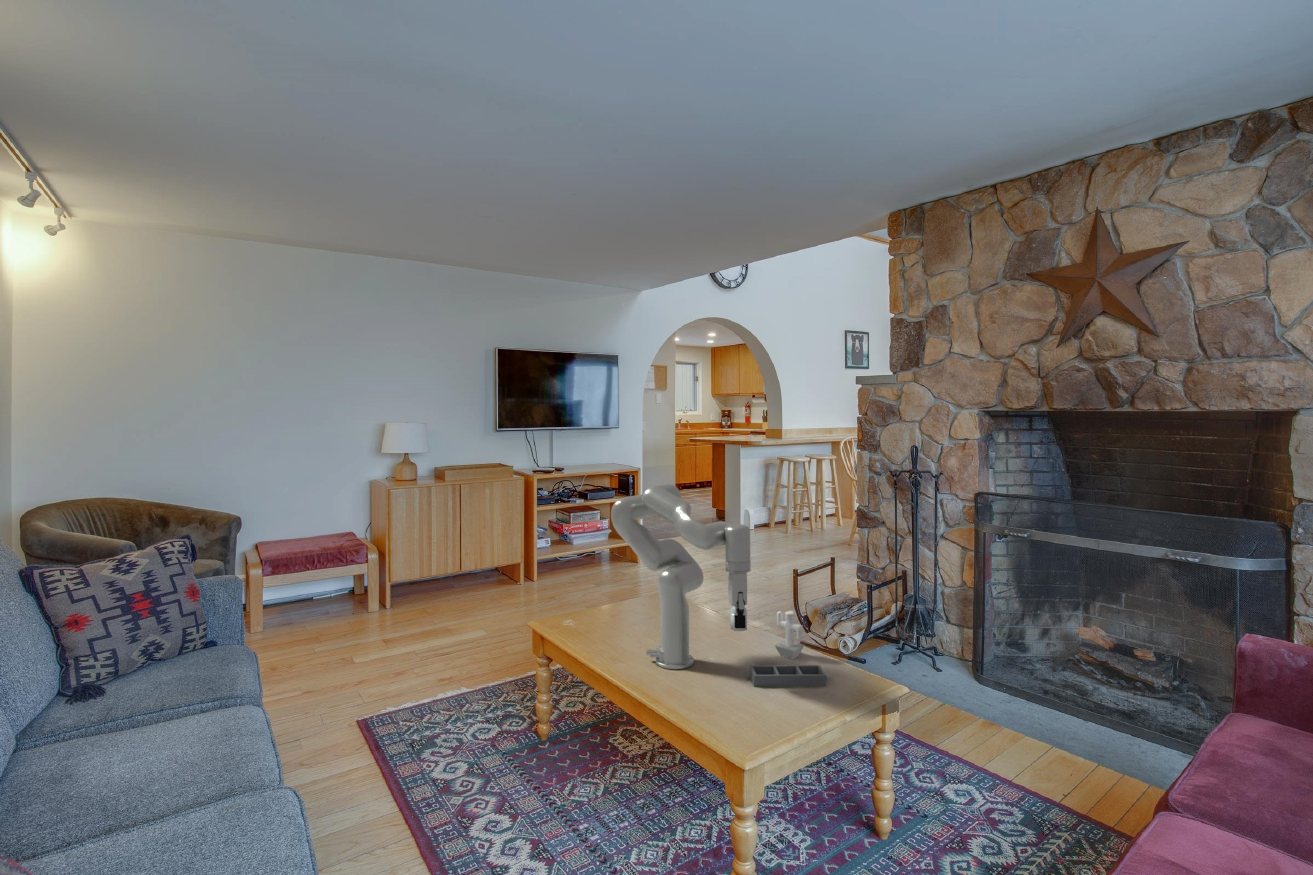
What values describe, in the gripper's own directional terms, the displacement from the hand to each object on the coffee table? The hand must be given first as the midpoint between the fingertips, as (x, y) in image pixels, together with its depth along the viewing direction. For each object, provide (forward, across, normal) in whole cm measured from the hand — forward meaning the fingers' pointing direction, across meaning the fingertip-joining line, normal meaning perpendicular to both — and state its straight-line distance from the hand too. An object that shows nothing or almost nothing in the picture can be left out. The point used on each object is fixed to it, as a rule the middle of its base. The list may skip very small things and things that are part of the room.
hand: (738, 624), depth 196 cm
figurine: (+18, -21, +19) cm, 34 cm away
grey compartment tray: (+18, -1, +15) cm, 23 cm away
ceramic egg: (+1, 0, 0) cm, 1 cm away
